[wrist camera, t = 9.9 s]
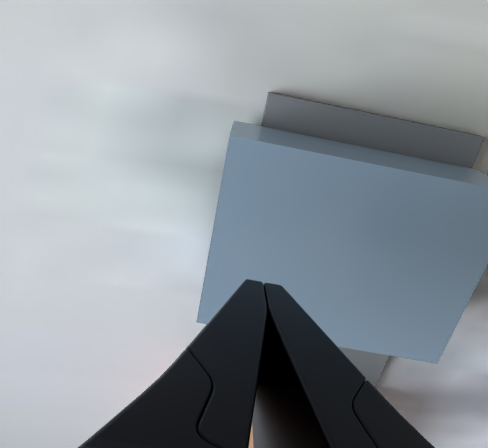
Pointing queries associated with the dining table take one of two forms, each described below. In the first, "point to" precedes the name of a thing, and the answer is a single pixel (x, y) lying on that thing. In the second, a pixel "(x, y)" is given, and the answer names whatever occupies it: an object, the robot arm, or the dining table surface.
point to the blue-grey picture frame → (350, 238)
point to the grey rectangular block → (376, 137)
